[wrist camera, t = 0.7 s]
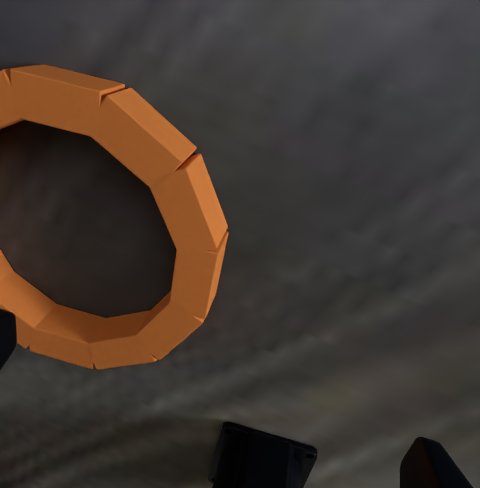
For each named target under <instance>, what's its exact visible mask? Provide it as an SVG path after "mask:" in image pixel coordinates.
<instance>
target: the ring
mask: <svg viewBox="0 0 480 488" xmlns="http://www.w3.org/2000/svg"><path fill="white" fill-rule="evenodd" d="M23 120H27V121H31V122H35V123H39V124H43V125H47V126H51V127H55V128H59V129H63V130H67V131H71V132H75V133H79V134H83V135H87V136H90V137H92V138H93V139H94V140H95V141H97V142H98V143H99V144H100V145H101V146H102V147H103V148H105V149H106V150H107V151H108V152H109V153H110V154H112V155H113V156H114V157H115V158H116V159H117V160H119V161H120V162H121V163H122V164H123V165H124V166H125V167H127V168H128V169H129V170H130V171H131V172H132V173H134V174H135V175H136V176H137V177H138V178H139V179H141V180H142V181H143V182H144V183H145V184H146V185H147V186H149V187H150V189H151V192H152V194H153V196H154V198H155V201H156V203H157V205H158V208H159V210H160V212H161V215H162V217H163V219H164V221H165V224H166V226H167V228H168V231H169V233H170V235H171V237H172V240H173V242H174V244H175V247H176V249H177V251H176V258H175V266H174V273H173V280H172V287H171V291H170V292H169V293H168V294H167V295H166V296H165V297H164V298H163V299H162V300H161V301H160V302H159V303H158V304H156V305H155V306H154V307H153V308H152V309H151V310H148V311H143V312H137V313H132V314H126V315H121V316H115V317H110V318H104V317H101V316H97V315H94V314H90V313H86V312H83V311H79V310H76V309H72V308H69V307H65V306H62V305H58V304H56V303H55V302H54V301H52V300H51V299H50V298H48V297H47V296H46V295H44V294H43V293H42V292H40V291H39V290H38V289H36V288H35V287H34V286H33V285H31V284H30V283H29V282H27V281H26V280H25V279H23V278H22V277H21V276H19V275H18V274H17V273H15V272H14V271H13V269H12V267H11V266H10V264H9V263H8V261H7V259H6V258H5V256H4V255H3V253H2V251H1V250H0V309H3V310H6V311H10V312H12V313H14V315H15V316H16V330H17V343H18V344H19V345H21V346H22V347H24V348H27V347H28V346H29V345H30V351H31V352H35V353H38V354H42V355H45V356H49V357H52V358H55V359H59V360H62V361H66V362H69V363H72V364H76V365H79V366H83V367H86V368H89V369H93V368H94V366H95V367H96V369H98V370H99V369H106V368H113V367H120V366H128V365H135V364H142V363H150V362H155V361H156V360H157V359H159V360H161V359H162V358H163V357H164V356H165V355H166V354H168V353H169V352H170V351H171V350H172V349H173V348H175V347H176V346H177V345H178V344H179V343H180V342H181V341H183V340H184V339H185V338H186V337H187V336H188V335H190V334H191V333H192V332H193V331H194V330H195V329H197V328H198V327H199V326H200V325H201V324H202V323H203V321H204V319H205V318H206V316H207V314H208V311H209V309H210V307H211V304H212V302H213V299H214V297H215V294H216V291H217V286H218V281H219V277H220V272H221V267H222V262H223V257H224V252H225V248H226V243H227V238H228V232H226V230H227V228H228V225H227V223H226V220H225V217H224V215H223V212H222V209H221V207H220V204H219V201H218V198H217V196H216V193H215V190H214V188H213V185H212V182H211V180H210V177H209V174H208V171H207V169H206V166H205V163H204V161H203V158H202V155H201V153H199V154H195V155H192V154H193V152H194V151H195V150H196V149H197V147H196V146H195V145H194V144H193V143H191V142H190V141H189V140H188V139H187V138H186V137H185V136H184V135H183V134H182V133H180V132H179V131H178V130H177V129H176V128H175V127H174V126H173V125H172V124H171V123H169V122H168V121H167V120H166V119H165V118H164V117H163V116H162V115H161V114H160V113H159V112H157V111H156V110H155V109H154V108H153V107H152V106H151V105H150V104H149V103H148V102H146V101H145V100H144V99H143V98H142V97H141V96H140V95H139V94H138V93H137V92H135V91H134V90H133V89H132V88H128V89H125V84H123V83H119V82H115V81H111V80H106V79H102V78H98V77H94V76H90V75H86V74H82V73H78V72H74V71H69V70H65V69H61V68H57V67H53V66H49V65H45V64H42V65H32V66H25V67H17V68H10V69H3V70H1V71H0V130H1V129H2V128H5V127H8V126H10V125H13V124H15V123H18V122H21V121H23ZM191 155H192V156H191Z"/></svg>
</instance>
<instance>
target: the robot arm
mask: <svg viewBox="0 0 480 488" xmlns="http://www.w3.org/2000/svg"><path fill="white" fill-rule="evenodd" d="M16 343H17V330H16V316H15V315H14V313H12V312H10V311H6V310H3V309H0V370H1V368H2V367H3V365H4V364H5V362H6V361H7V359H8V358H9V357H10V355H11V354H12V352H13V351H14V349H15V346H16ZM316 459H317V450H316V448H314V447H312V446H310V445H306V444H303V443H299V442H296V441H293V440H289V439H286V438H283V437H279V436H276V435H272V434H269V433H266V432H262V431H259V430H255V429H252V428H249V427H245V426H242V425H239V424H235V423H232V422H225V423H223V425H222V429H221V432H220V436H219V440H218V444H217V447H216V451H215V455H214V459H213V462H212V466H211V470H210V473H209V477H208V480H209V481H210V482H211V483H213V487H212V488H303V487H304V485H305V482H306V480H307V478H308V476H309V474H310V472H311V470H312V467H313V465H314V463H315V461H316ZM400 488H473V487H472V486H471V484H470V483H469V482H468V480H467V479H466V478H465V476H464V475H463V474H462V472H461V471H460V469H459V468H458V467H457V465H456V464H455V463H454V461H453V460H452V459H451V457H450V456H449V455H448V453H447V452H446V450H445V449H444V448H443V446H442V445H441V444H440V443H438V442H437V441H434V440H430V439H427V438H424V437H418V438H416V440H415V441H414V442H413V444H412V445H411V447H410V449H409V450H408V452H407V453H406V455H405V456H404V458H403V460H402V462H401V466H400Z"/></svg>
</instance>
